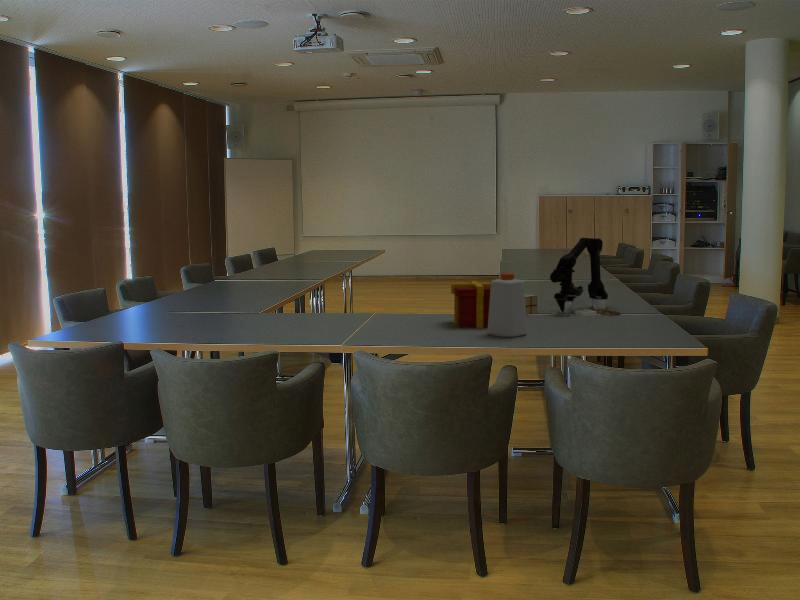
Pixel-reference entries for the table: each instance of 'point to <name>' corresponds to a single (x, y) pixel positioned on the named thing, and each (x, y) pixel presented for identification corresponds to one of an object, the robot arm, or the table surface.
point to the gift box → (471, 304)
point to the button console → (585, 313)
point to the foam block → (578, 299)
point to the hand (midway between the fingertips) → (566, 310)
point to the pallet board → (607, 312)
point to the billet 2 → (599, 304)
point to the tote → (561, 314)
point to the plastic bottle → (507, 307)
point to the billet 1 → (567, 308)
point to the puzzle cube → (530, 304)
